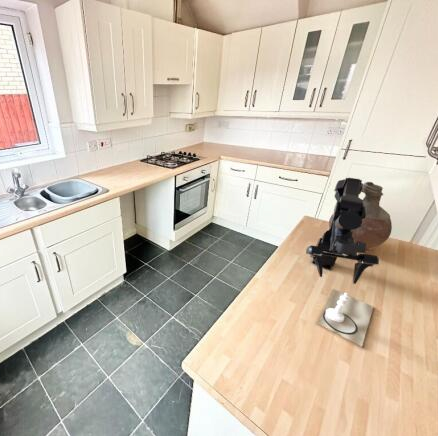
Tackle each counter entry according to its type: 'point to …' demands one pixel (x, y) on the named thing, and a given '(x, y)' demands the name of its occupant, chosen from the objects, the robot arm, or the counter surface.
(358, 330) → the grey plate with ring
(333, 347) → the counter surface
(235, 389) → the counter surface
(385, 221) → the jug
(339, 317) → the chess piece
